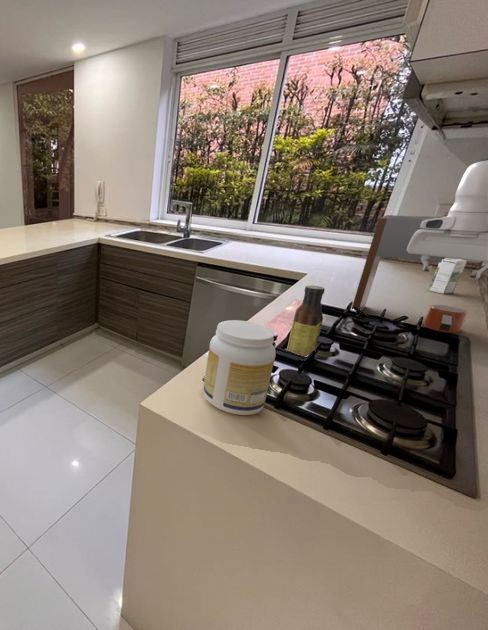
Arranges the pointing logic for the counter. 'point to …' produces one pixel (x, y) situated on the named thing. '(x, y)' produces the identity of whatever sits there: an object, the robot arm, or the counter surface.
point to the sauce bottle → (307, 322)
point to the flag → (389, 249)
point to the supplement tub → (239, 367)
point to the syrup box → (447, 275)
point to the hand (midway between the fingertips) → (449, 274)
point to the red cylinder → (445, 318)
